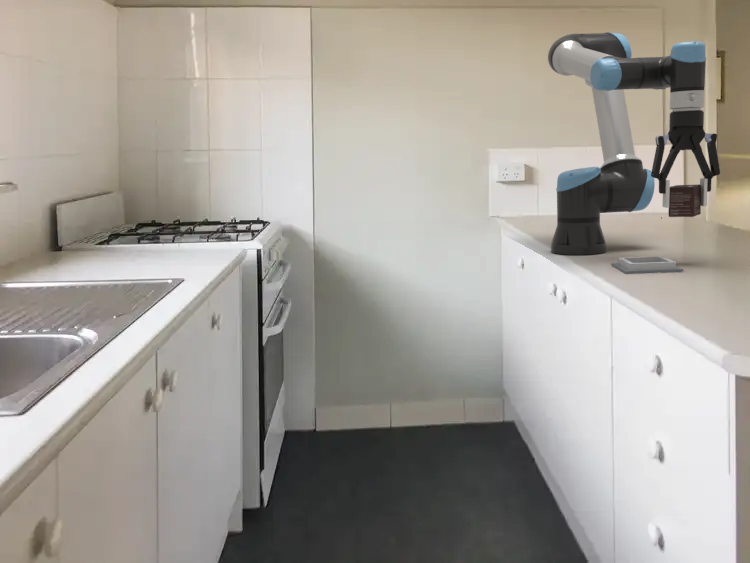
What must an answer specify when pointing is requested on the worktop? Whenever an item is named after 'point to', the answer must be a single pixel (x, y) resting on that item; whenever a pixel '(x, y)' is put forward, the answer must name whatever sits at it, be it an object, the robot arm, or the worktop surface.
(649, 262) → the grey and white frame
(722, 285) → the worktop surface
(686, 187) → the box
